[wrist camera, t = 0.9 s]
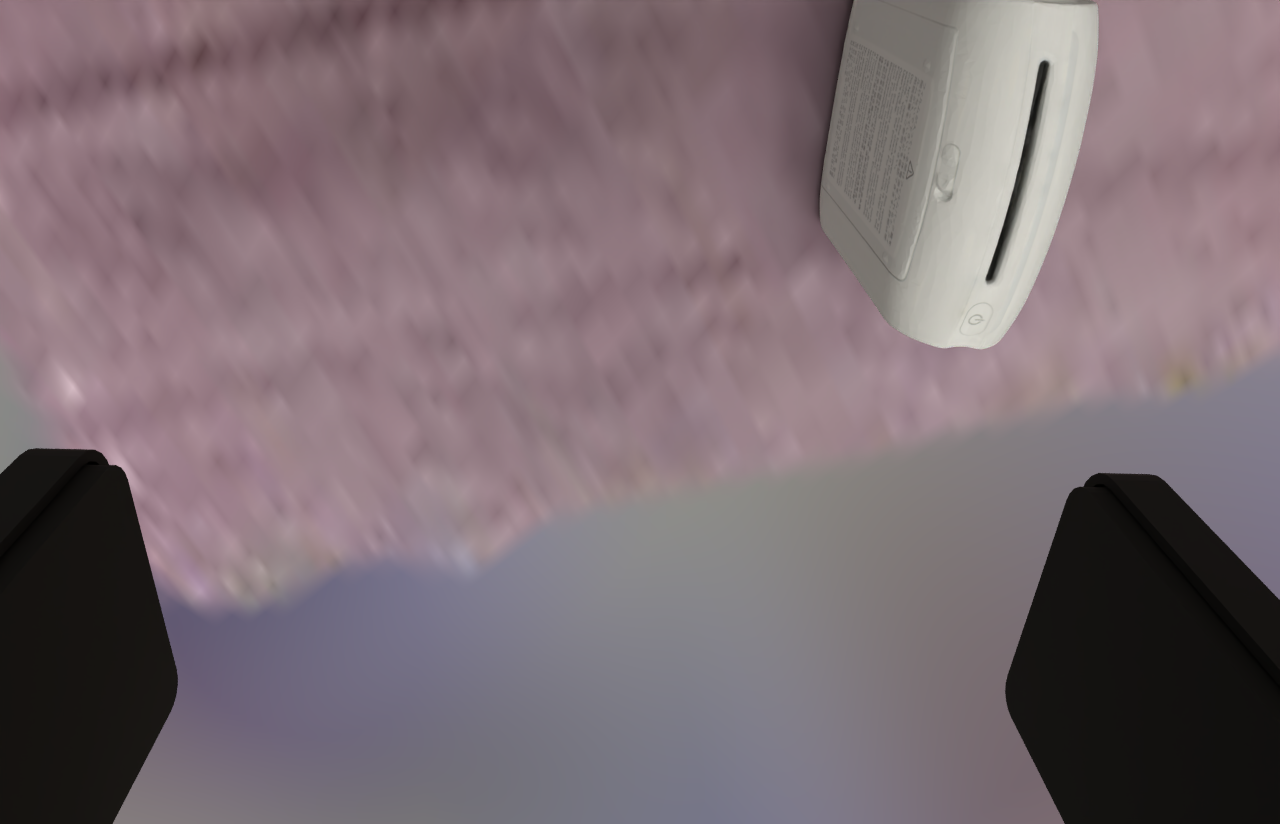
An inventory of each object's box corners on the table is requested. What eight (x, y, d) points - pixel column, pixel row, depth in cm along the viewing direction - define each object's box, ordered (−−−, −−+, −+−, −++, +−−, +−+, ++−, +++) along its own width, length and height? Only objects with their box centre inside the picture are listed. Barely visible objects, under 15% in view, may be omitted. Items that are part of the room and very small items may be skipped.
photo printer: (911, 242, 37) (1044, 383, 26) (805, 236, 37) (896, 376, 26) (974, -44, 32) (1171, -17, 21) (852, -54, 32) (990, -32, 21)
